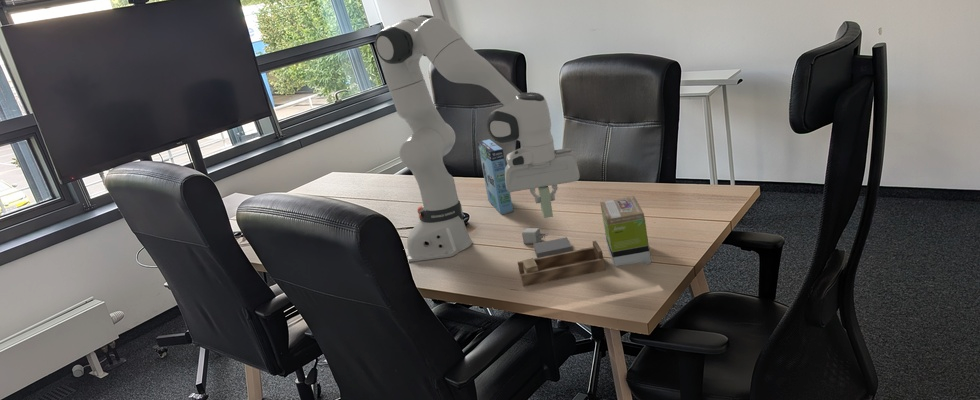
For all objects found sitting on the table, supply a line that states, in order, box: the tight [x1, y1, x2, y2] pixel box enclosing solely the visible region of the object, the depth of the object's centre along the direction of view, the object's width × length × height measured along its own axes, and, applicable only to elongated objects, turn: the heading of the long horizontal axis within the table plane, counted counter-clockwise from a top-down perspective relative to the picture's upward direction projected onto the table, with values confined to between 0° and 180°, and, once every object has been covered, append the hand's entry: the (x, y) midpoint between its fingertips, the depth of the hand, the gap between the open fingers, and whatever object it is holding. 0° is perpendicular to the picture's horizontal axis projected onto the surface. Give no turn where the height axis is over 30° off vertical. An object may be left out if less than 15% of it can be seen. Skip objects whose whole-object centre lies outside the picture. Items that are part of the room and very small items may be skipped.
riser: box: [533, 236, 573, 258], centre depth 214 cm, size 10×8×3 cm
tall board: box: [537, 186, 554, 219], centre depth 205 cm, size 2×7×8 cm, turn 3°
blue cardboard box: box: [477, 138, 514, 215], centre depth 265 cm, size 20×5×23 cm, turn 12°
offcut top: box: [521, 257, 538, 273], centre depth 199 cm, size 3×6×2 cm, turn 7°
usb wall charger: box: [521, 227, 548, 245], centre depth 227 cm, size 4×7×4 cm, turn 64°
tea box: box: [600, 195, 652, 267], centre depth 202 cm, size 15×10×15 cm
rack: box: [517, 240, 606, 287], centre depth 200 cm, size 22×10×6 cm, turn 93°
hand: (545, 201), depth 205 cm, fingers closed on tall board, 2 cm apart
